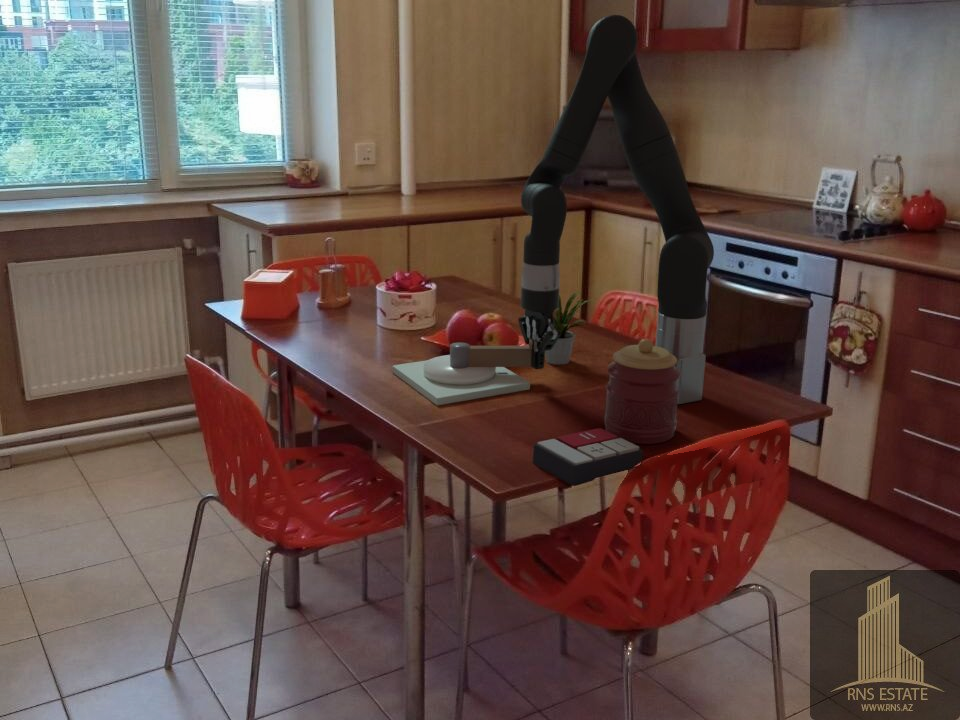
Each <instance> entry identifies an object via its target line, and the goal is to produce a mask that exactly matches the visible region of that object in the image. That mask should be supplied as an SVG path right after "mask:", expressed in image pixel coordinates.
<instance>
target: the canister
mask: <svg viewBox="0 0 960 720" xmlns="http://www.w3.org/2000/svg"><path fill="white" fill-rule="evenodd" d="M612 358H613V360H614V361H612V362H611V363H609V365H608V366H607V367H606V370H607V372H608V374H609V381H608V382H607V383H606V385H605V388H606V401H605V402H606V403H605V404H606V405H605V414H604V417H603V419H604V422H603V423H604V425H605V427H604V428H605V429H604V430H605V431H608V432H610V433H612V434H614V435H616V436H618V438H622V439H624V440H626V441H628V442H630V443H633V444H637V445H638V444H639V445H654V444H655V445H656V444H661V443H664V442H667V441H669V440H671V439H672V438H674V436H675V431H676V429H677V424H678V423H677V412H678V410H677V409H678V404H677V401H678V394H679V388H678V387H677V379H678V378H679V377H680V376H681V372H680V370H679V369H678V368H677V367H676V366H675V364H676V363H677V358H676V357H675V356H674V355H672V354H671V353H669V351H668V350H666V349H664V348H661V347H657V346H656V345H654V343H653V341H652V340H651V339H650V338H642V339H641V340H639V342H638V344H630V345H627V346H624V347H623V348H621V349H619V350H617V351H615V352H614V353H613V355H612Z"/></svg>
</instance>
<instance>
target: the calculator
mask: <svg viewBox="0 0 960 720" xmlns="http://www.w3.org/2000/svg"><path fill="white" fill-rule="evenodd" d="M532 451H533V452H532V453H533V454H532V464H534V465H535V466H537V467H539V468H540V469H542V470H544V471H546V472H547V473H549V474H551V475H553V476H555V477H556V478H557V479H559V480H561V481H563V482H565V483H567V484H569V485H570V486H572V487H576V486H580V485H582V484H587V483H589V482H590V483H591V482H593V481H594V480H595V479H598V478H601V477H605V476H609V475H612V474H613V475H614V474H618V473H621V472H624V471H628V470H631V469H634V468H633V467H634V466H635V465H637V464H638V463H640V462H643V455H644V454H643V453H644V450H643V449H641V448H640V446H639V445H638V444H637V445H636V443H630V442H628V441H626V440H624V439H622V438H618V436H616V435H614V434H612V433H610V432H608V431H606V430H605V429H603V428H600V427H599V428H594V429H590V430H589V429H588V430H584V431H583V430H582V431H580V432H574V433H570V434H566V435H565V434H564V435H560V436H556V438H551V439H547V440H541V441H538V442H536V443H534V444H533V450H532Z"/></svg>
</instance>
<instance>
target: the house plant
mask: <svg viewBox="0 0 960 720" xmlns="http://www.w3.org/2000/svg"><path fill="white" fill-rule="evenodd" d="M580 293H581V290H579V291H576V292H574V293H573V294H572V295H570V297H569V298H568V300H567V302H566V303H565V306H564V307H565V308H564V311H563V310H562V309H563V307H562V299H561V295H560V294H559V306H558V308H557V309H556V310H555V316H554V315H553V317H554V324H553V326H554V328H555V330H560V332H561V335H560V337H559V338H558V340H557V341H556V343H555V345H554V346H553V348H552V349H551V350H547V351H545V360H546V363H548V364H550V365H559V366H560V365H567V364H569V363H570V360H571V356H572V351H573V345H574V340H575V336H576V335H575V333H574V332H572V331H569V330H570V329H572V328H574V327H581V328H584V326H583V325H582V324H580V323H579V324H578V322H582V323H583V322H584V323H586V324H587V322H586V321H585V320H584V319H576V320H574V321H573V322H572V323H571V324H570V322H571V320H572V319H573V317H574V316H575V314H576V313H578V312H579V308H580V307H581V306H582V305H584V304H586V303H588V302H591V301H597V299H595V298H593V299H586V300H584V299H580V300H578V301H576V302H575V304H574V305H573V307H572V308H571V309H570V307H571V305H572V303H573V301H574V300H575V299H578V297H577V295H578V294H580ZM569 309H570V310H569ZM569 324H570V325H569Z"/></svg>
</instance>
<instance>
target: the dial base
mask: <svg viewBox="0 0 960 720" xmlns="http://www.w3.org/2000/svg"><path fill="white" fill-rule="evenodd" d="M428 360H429V359H428ZM428 360H421V361H415V362H414V361H413V362H407V363H401V364H394V365H392V366H391V368H392V370H391V371H392V373H393V374H394V375H395V376H397V377H398V378H400V380H402V381H403V382H405V383H406V384H407V385H409V386H410V387H412V388H413V389H414V390H415V391H417V392H418V393H420V394H421V395H422V396H424V397H425V398H426V399H428V400H429V401H430V402H431V403H433V404H434V405H436V406H443V405H447V404H453V403H459V402H465V401H470V400H477V399H482V398H487V397H494V396H498V395H499V396H500V395H505V394H512V393H517V392H523V391H527V390H530V389H531V382H530V381H529V380H527V379H525V378H523V376H521V375H518V374H516V373H514V372H513V371H512V370H510V369H508V368H507V367H496V374H495V376H494V377H493V378H492V379H490V380H487V381H484V382H481V383H475V384H465V385H456V384H445V383H440V382H436V381H433V380H430V379H428V378H427V377H426V376H425V375H424V363H425V362H426V361H428Z"/></svg>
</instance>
